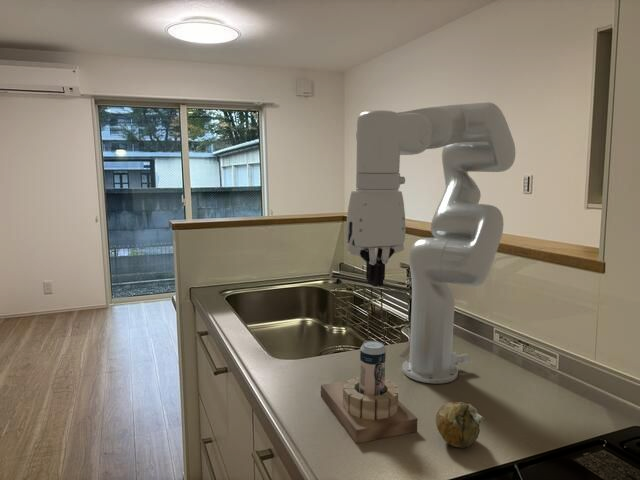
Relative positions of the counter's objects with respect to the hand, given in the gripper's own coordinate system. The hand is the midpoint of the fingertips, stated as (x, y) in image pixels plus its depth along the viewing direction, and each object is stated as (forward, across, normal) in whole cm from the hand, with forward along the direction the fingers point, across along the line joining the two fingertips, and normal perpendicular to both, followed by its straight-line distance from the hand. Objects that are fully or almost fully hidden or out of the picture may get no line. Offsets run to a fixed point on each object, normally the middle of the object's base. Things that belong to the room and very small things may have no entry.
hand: (375, 284), depth 87 cm
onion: (+26, -10, +12) cm, 31 cm away
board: (+26, +1, -2) cm, 26 cm away
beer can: (+24, 0, 0) cm, 24 cm away
